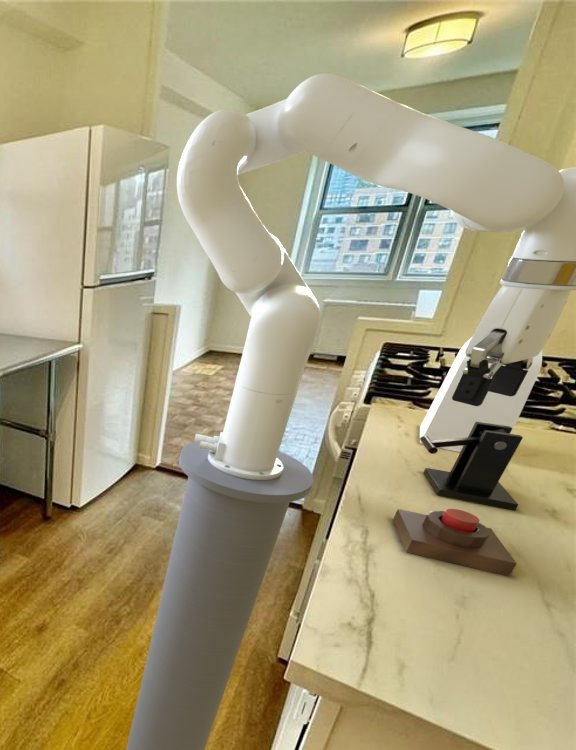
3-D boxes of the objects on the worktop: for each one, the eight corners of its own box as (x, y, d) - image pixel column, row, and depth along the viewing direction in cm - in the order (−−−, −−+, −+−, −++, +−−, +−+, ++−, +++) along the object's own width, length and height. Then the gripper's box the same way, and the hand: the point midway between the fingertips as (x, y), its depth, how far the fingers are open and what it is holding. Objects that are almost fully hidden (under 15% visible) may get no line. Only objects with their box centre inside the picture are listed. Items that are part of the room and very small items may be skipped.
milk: (419, 443, 102) (477, 318, 90) (420, 426, 110) (472, 309, 98) (498, 460, 95) (572, 327, 83) (492, 441, 103) (559, 317, 91)
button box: (406, 552, 69) (417, 529, 67) (392, 520, 76) (402, 498, 74) (509, 576, 64) (524, 552, 63) (484, 540, 72) (497, 518, 70)
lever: (428, 457, 83) (428, 444, 82) (420, 445, 87) (419, 432, 87) (512, 451, 77) (512, 437, 77) (498, 438, 82) (498, 425, 81)
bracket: (436, 495, 83) (468, 433, 78) (422, 473, 90) (450, 414, 85) (515, 510, 79) (553, 445, 74) (494, 485, 86) (527, 425, 81)
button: (444, 528, 68) (449, 518, 67) (436, 516, 71) (442, 506, 70) (478, 536, 67) (483, 525, 66) (468, 522, 69) (474, 512, 69)
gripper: (536, 269, 69) (480, 383, 77) (473, 274, 63) (420, 398, 70) (614, 274, 63) (545, 397, 71) (554, 281, 57) (485, 416, 64)
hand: (483, 398), depth 71 cm, fingers open, 9 cm apart
